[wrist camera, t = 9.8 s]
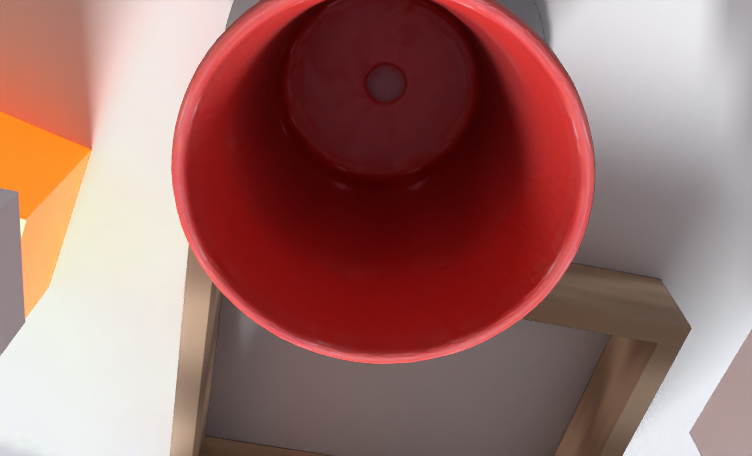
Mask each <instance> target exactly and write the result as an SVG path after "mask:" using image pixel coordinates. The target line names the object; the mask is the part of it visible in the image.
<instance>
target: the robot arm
mask: <svg viewBox="0 0 752 456" xmlns="http://www.w3.org/2000/svg"><path fill="white" fill-rule="evenodd" d="M24 323H25V306H24V287H23V268H22V248H21V229H20V209H19V191H14V190H8V189H3V188H0V356H1V354H2V353H3V351H4V350H5V349H6V347H7V346H8V345H9V343H10V342H11V341H12V339H13V338H14V337H15V335H16V334H17V332H18V331H19V330H20V328H21V327H22V326H23V324H24ZM689 433H690V435H691V437H692V439H693V441H694V443H695V445H696V447H697V449H698V451H699V453H700V455H701V456H752V329H751V331H750V333H749V334H748V336H747V338H746V339H745V341H744V343H743V344H742V346H741V348H740V349H739V351H738V353H737V354H736V356H735V358H734V359H733V361H732V363H731V364H730V366H729V368H728V369H727V371H726V373H725V374H724V376H723V377H722V379H721V381H720V382H719V384H718V386H717V387H716V389H715V391H714V392H713V394H712V396H711V397H710V399H709V401H708V402H707V404H706V406H705V407H704V409H703V411H702V412H701V414H700V416H699V417H698V419H697V421H696V422H695V424H694V426H693V427H692V429H691V431H690V432H689Z"/></svg>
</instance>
